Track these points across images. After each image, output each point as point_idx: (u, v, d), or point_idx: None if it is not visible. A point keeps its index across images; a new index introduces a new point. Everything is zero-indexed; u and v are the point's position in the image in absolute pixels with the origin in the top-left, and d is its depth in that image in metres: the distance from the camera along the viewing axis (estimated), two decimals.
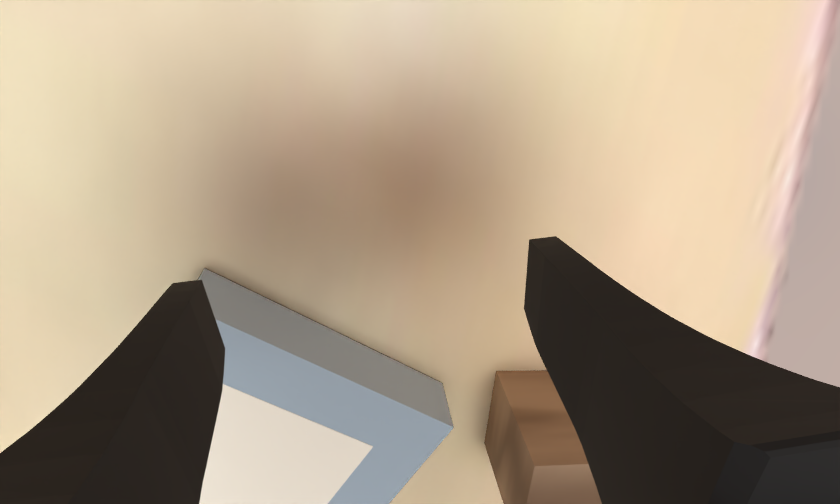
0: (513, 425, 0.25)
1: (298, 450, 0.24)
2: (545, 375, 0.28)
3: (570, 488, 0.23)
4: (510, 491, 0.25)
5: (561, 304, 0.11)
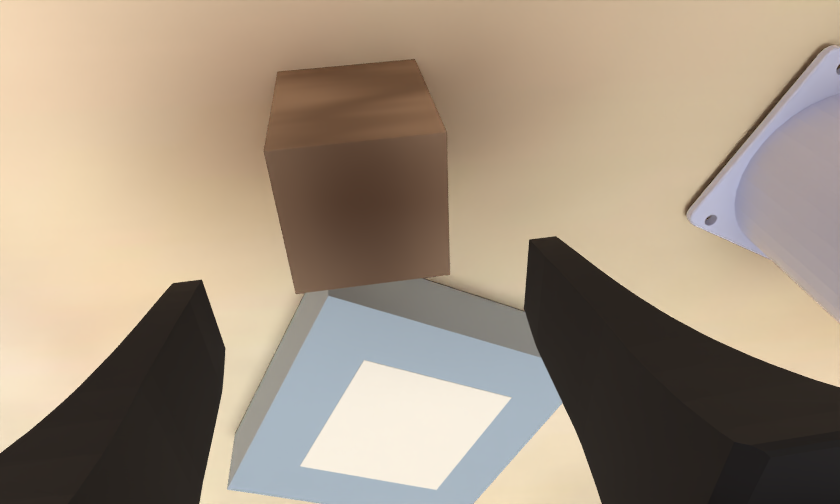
0: None
1: (375, 410, 0.25)
2: None
3: (333, 239, 0.16)
4: None
5: (560, 304, 0.11)
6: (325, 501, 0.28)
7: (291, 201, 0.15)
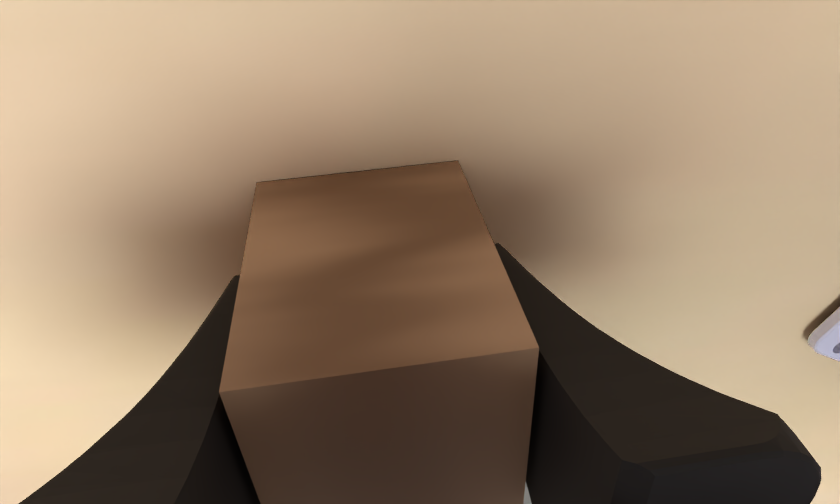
0: None
1: None
2: None
3: (341, 492, 0.10)
4: None
5: None
6: None
7: (270, 453, 0.09)
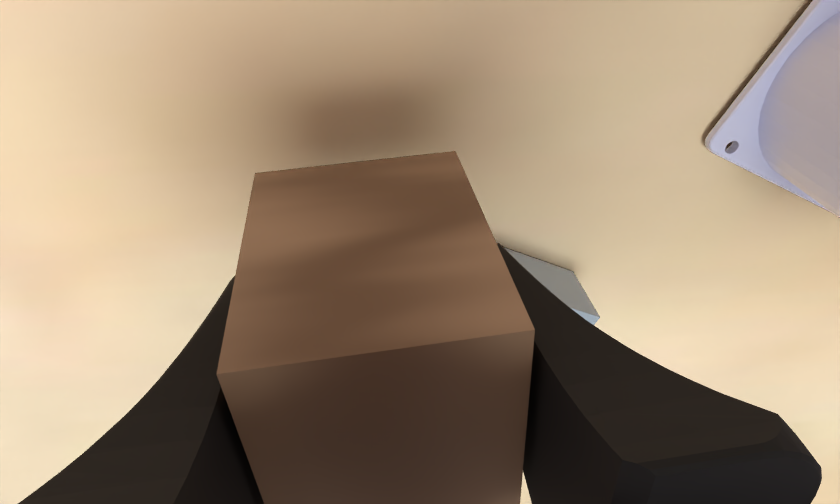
0: None
1: None
2: None
3: (338, 477, 0.10)
4: None
5: None
6: None
7: (267, 436, 0.09)
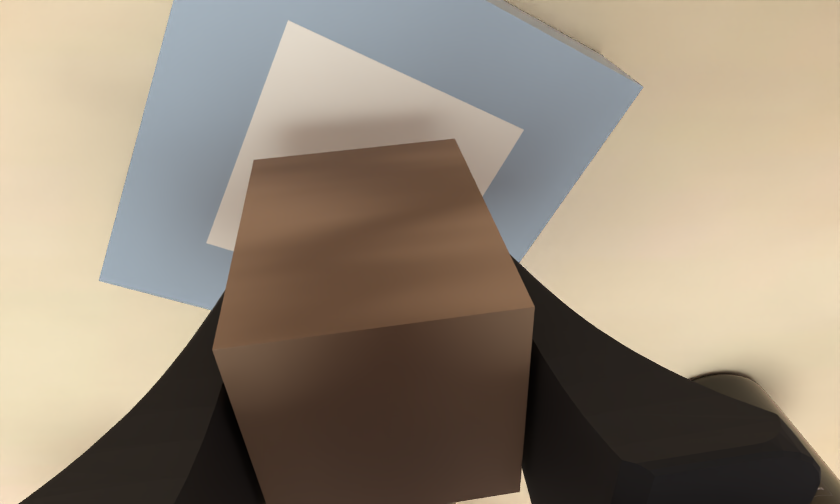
0: None
1: (314, 138, 0.16)
2: None
3: (336, 460, 0.10)
4: None
5: None
6: None
7: (264, 416, 0.09)
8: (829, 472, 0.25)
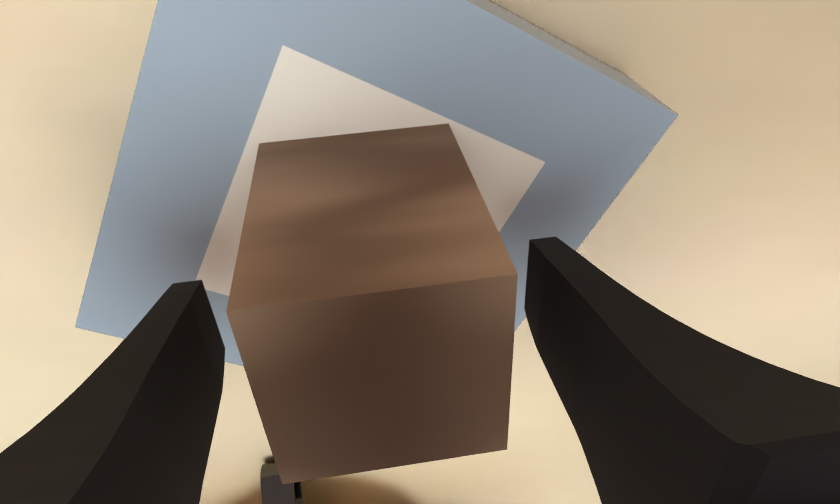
0: None
1: None
2: None
3: (337, 417, 0.10)
4: None
5: (561, 304, 0.11)
6: None
7: (272, 375, 0.10)
8: None
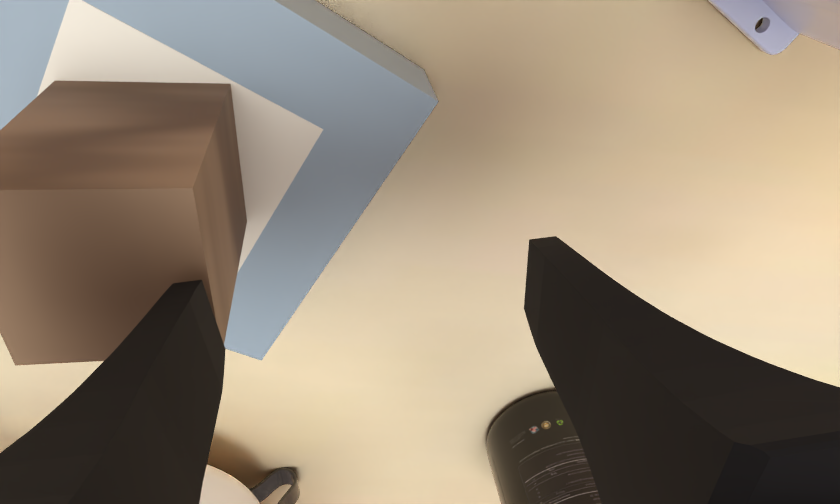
0: None
1: None
2: None
3: (55, 304, 0.12)
4: None
5: (560, 304, 0.11)
6: None
7: None
8: None
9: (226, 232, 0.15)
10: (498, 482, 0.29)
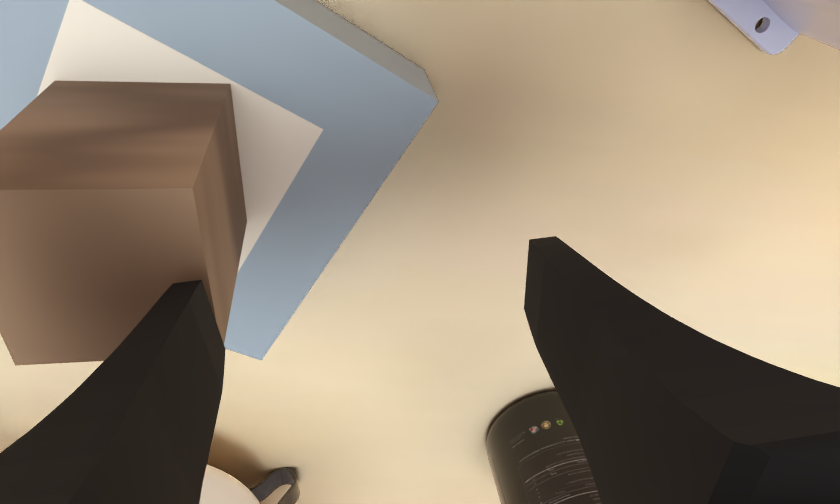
0: None
1: None
2: None
3: (55, 304, 0.12)
4: None
5: (560, 304, 0.11)
6: None
7: None
8: None
9: (226, 232, 0.15)
10: (498, 482, 0.29)
